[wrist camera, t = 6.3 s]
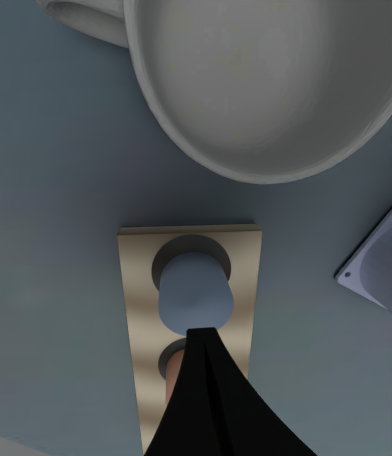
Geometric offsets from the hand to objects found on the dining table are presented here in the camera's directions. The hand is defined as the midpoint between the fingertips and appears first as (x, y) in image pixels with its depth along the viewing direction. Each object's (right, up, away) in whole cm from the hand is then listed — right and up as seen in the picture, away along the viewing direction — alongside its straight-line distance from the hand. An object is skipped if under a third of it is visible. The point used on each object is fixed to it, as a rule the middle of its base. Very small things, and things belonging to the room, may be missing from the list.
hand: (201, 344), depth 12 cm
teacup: (+1, +15, +3) cm, 16 cm away
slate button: (0, +2, +5) cm, 5 cm away
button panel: (-1, -6, +11) cm, 12 cm away
